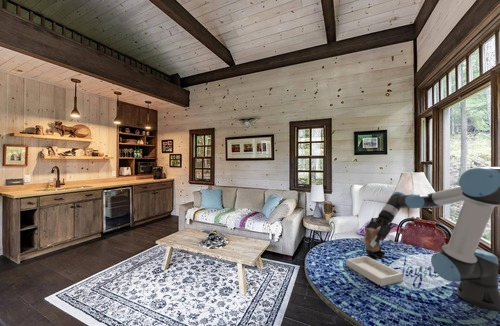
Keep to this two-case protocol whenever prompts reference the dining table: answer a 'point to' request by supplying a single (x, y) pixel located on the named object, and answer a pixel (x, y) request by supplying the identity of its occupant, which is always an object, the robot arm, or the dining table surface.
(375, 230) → the walnut block
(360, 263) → the sorting tray
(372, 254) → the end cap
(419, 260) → the dining table surface
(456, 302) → the dining table surface
